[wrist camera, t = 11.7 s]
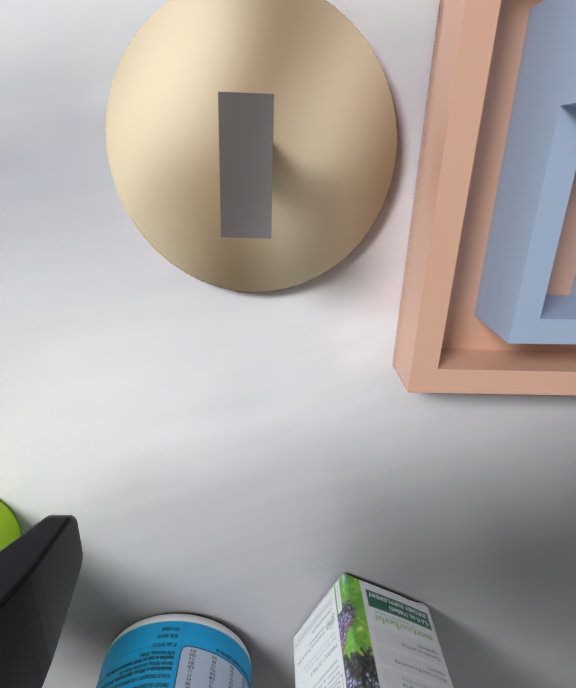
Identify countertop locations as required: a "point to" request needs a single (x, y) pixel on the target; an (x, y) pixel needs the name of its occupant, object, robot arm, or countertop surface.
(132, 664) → the blue lidded jar
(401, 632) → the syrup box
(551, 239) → the blue open frame block
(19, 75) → the countertop surface
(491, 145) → the tray
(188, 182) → the pot lid
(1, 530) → the soap dispenser
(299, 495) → the countertop surface
